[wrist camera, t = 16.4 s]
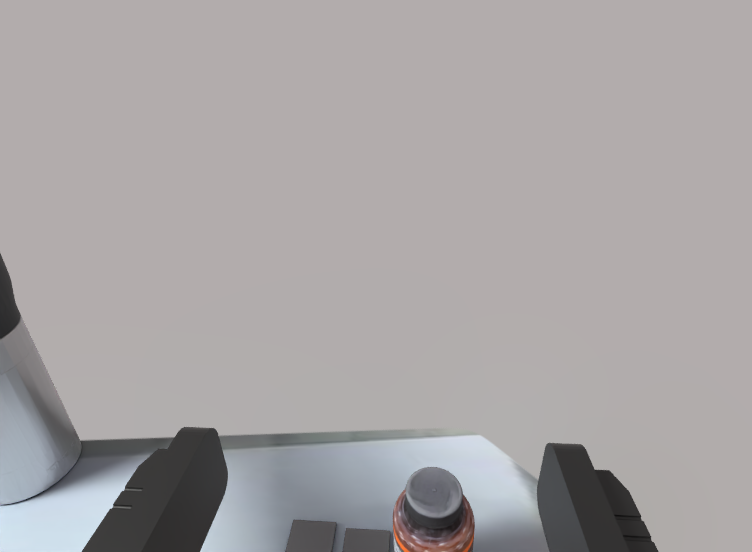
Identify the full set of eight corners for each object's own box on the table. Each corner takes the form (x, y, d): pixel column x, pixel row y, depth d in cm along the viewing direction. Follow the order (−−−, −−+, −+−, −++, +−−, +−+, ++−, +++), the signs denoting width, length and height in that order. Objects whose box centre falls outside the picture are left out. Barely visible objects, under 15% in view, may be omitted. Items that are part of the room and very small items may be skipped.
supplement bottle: (463, 547, 38) (472, 455, 33) (473, 627, 33) (486, 533, 27) (394, 544, 38) (393, 453, 33) (393, 623, 33) (391, 530, 28)
